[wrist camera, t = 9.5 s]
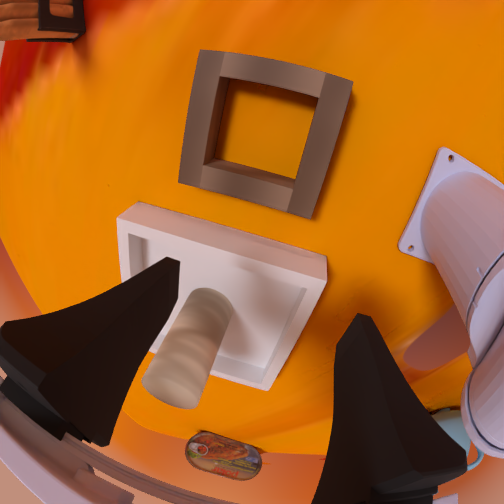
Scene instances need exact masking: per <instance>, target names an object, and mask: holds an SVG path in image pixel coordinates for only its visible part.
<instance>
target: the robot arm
mask: <svg viewBox="0 0 504 504" xmlns="http://www.w3.org/2000/svg"><path fill="white" fill-rule="evenodd" d="M449 155H452V159H451V161H449V160H448V157H449ZM411 245H413V246H412V248H411V249H408V247H409V246H411ZM398 248H399V250H400V251H401V252H403V253H406V254H409V255H412V256H414V257H417V258H420V259H422V260H425V261H428V262H430V263H433V264H435V266H436V268H437V269H438V271H439V273H440V275H441V277H442V279H443V281H444V283H445V285H446V287H447V289H448V291H449V293H450V295H451V297H452V299H453V301H454V303H455V305H456V307H457V309H458V312H459V314H460V316H461V318H462V321H463V323H464V325H465V327H466V330H467V332H468V334H469V337H470V347H469V349H468V351H467V353H468V356H469V359H470V362H471V365H472V368H473V370H472V372H471V373H470V374H469V376H468V377H467V380H466V382H465V384H464V387H463V390H462V395H461V416H462V421H463V424H464V428H465V430H466V432H467V434H468V436H469V438H470V439H471V441H472V442H473V443H474V444H475V446H476V447H477V448H478V449H480V450H481V451H482V452H484V453H486V454H488V455H490V456H493V457H498V458H504V185H503V184H502V183H501V182H499V181H498V180H496V179H495V178H494V177H492V176H491V175H489V174H488V173H486V172H485V171H483V170H482V169H480V168H479V167H477V166H476V165H474V164H473V163H471V162H470V161H468V160H466V159H465V158H463V157H462V156H460V155H458V154H457V153H455V152H453V151H451V150H450V149H448V148H446V147H441V148H439V150H438V152H437V154H436V157H435V160H434V163H433V165H432V168H431V170H430V173H429V175H428V178H427V180H426V183H425V185H424V188H423V190H422V193H421V195H420V197H419V199H418V202H417V204H416V206H415V209H414V211H413V213H412V215H411V217H410V219H409V221H408V224H407V226H406V228H405V230H404V232H403V234H402V236H401V238H400V240H399V242H398ZM179 275H180V261H179V260H176V259H173V258H170V257H165V258H163V259H161V260H160V261H158V262H156V263H155V264H153V265H151V266H150V267H148V268H146V269H145V270H143V271H141V272H140V273H138V274H136V275H135V276H133V277H131V278H130V279H128V280H126V281H124V282H123V283H121V284H119V285H117V286H115V287H113V288H112V289H110V290H108V291H106V292H104V293H102V294H100V295H98V296H95V297H93V298H91V299H89V300H86V301H84V302H81V303H79V304H76V305H73V306H70V307H67V308H64V309H62V310H59V311H55V312H52V313H48V314H44V315H40V316H36V317H31V318H26V319H20V320H13V321H7V322H5V323H4V324H3V325H2V326H1V328H0V367H1V368H2V369H3V371H4V372H5V373H6V374H7V377H6V378H5V380H4V379H3V378H2V377H1V376H0V459H1V460H2V461H3V463H4V464H5V465H6V466H7V467H8V468H9V469H10V470H11V471H12V473H13V474H14V475H15V476H16V477H17V478H18V479H19V480H20V481H21V482H22V483H23V484H24V485H25V486H26V487H27V488H28V489H29V490H30V491H31V492H32V493H34V494H35V495H36V496H37V497H38V498H39V499H40V500H41V501H42V502H43V503H45V504H132V501H133V499H134V494H132V493H130V492H128V491H126V490H124V489H121V488H120V487H118V486H116V485H114V484H112V483H110V482H108V481H106V480H104V479H102V478H100V477H98V476H96V475H95V473H94V470H93V468H92V467H94V468H96V469H98V470H100V471H101V472H103V473H105V474H107V475H109V476H111V477H112V478H114V479H116V480H118V481H121V482H123V483H125V484H127V485H129V486H131V487H133V488H136V489H138V490H140V491H142V492H145V493H147V494H150V495H152V496H155V497H157V498H160V499H163V500H165V501H168V502H171V503H174V504H237V503H233V502H228V501H224V500H220V499H216V498H212V497H208V496H204V495H201V494H198V493H194V492H191V491H188V490H185V489H182V488H179V487H176V486H173V485H170V484H168V483H165V482H162V481H160V480H157V479H154V478H152V477H149V476H147V475H145V474H143V473H140V472H138V471H136V470H134V469H131V468H129V467H127V466H125V465H123V464H121V463H119V462H117V461H115V460H113V459H111V458H109V457H107V456H105V455H104V454H102V453H100V452H98V451H96V450H95V449H93V448H91V447H89V446H88V445H86V444H84V443H83V442H82V440H85V441H87V442H88V443H91V442H93V443H95V444H96V445H98V446H100V447H104V446H107V445H109V443H110V440H111V436H112V433H113V430H114V427H115V424H116V421H117V418H118V415H119V413H120V410H121V408H122V405H123V402H124V400H125V397H126V395H127V393H128V390H129V388H130V386H131V383H132V381H133V379H134V377H135V375H136V372H137V370H138V368H139V366H140V364H141V362H142V361H143V359H144V357H145V356H146V354H147V352H148V351H149V349H150V348H151V346H152V344H153V343H154V341H155V340H156V338H157V337H158V335H159V333H160V332H161V330H162V329H163V327H164V325H165V324H166V322H167V321H168V319H169V317H170V315H171V313H172V311H173V309H174V307H175V304H176V302H177V300H178V293H179ZM90 465H91V466H90ZM467 470H468V468H467V456H466V450H465V449H464V448H462V447H461V446H460V445H459V444H458V443H457V442H456V441H455V440H453V439H452V438H451V437H450V436H449V435H448V434H447V433H446V432H445V431H444V430H443V429H442V427H441V426H440V425H439V424H438V423H437V422H436V421H435V420H434V418H433V417H432V416H431V415H430V414H429V412H428V411H427V410H426V409H425V407H424V406H423V405H422V403H421V402H420V401H419V399H418V398H417V396H416V395H415V393H414V392H413V390H412V389H411V387H410V386H409V384H408V383H407V381H406V379H405V378H404V376H403V374H402V373H401V371H400V369H399V367H398V366H397V364H396V362H395V360H394V359H393V357H392V355H391V353H390V351H389V349H388V347H387V345H386V344H385V342H384V340H383V338H382V336H381V334H380V332H379V330H378V328H377V327H376V325H375V323H374V321H373V320H372V318H371V316H367V315H363V314H359V313H357V315H356V316H355V318H354V319H353V321H352V323H351V324H350V326H349V327H348V329H347V330H346V332H345V333H344V335H343V336H342V338H341V339H340V341H339V342H338V344H337V346H336V354H335V362H334V409H333V423H332V430H331V436H330V441H329V446H328V451H327V455H326V460H325V464H324V467H323V471H322V474H321V478H320V481H319V484H318V487H317V490H316V493H315V495H314V498H313V500H312V503H311V504H458V494H457V493H455V494H452V495H449V496H445V497H441V498H438V499H434V500H433V494H436V493H437V492H438V485H441V484H443V483H445V482H448V481H450V480H453V479H455V478H457V477H459V476H461V475H463V474H464V473H465V472H466V471H467Z"/></svg>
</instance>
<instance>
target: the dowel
mask: <svg viewBox="0 0 504 504" xmlns="http://www.w3.org/2000/svg"><path fill="white" fill-rule="evenodd" d="M232 313H233V308H232V305H231V303H230V301H229V300H228V298H227V297H226V296H224V295H223V294H222V293H220V292H218V291H216V290H214V289H211V288H197V289H195V290H193V291H192V292H191V293H190V295H189V296H188V298H187V300H186V302H185V303H184V305H183V307H182V308H181V310H180V312H179V314H178V315H177V317H176V319H175V321H174V322H173V324H172V326H171V328H170V329H169V331H168V333H167V335H166V336H165V338H164V340H163V342H162V344H161V345H160V347H159V349H158V351H157V352H156V354H155V356H154V358H153V360H152V361H151V363H150V365H149V367H148V369H147V371H146V372H145V374H144V376H143V378H142V384H143V386H144V388H145V389H146V390H147V391H148V392H149V393H150V394H152V395H153V396H154V397H156V398H157V399H159V400H161V401H163V402H164V403H167V404H169V405H172V406H174V407H178V408H183V409H193V408H196V407H197V405H198V403H199V400H200V397H201V395H202V392H203V389H204V387H205V384H206V382H207V379H208V376H209V374H210V371H211V369H212V366H213V363H214V361H215V358H216V356H217V353H218V350H219V348H220V345H221V342H222V340H223V337H224V335H225V332H226V329H227V327H228V324H229V321H230V319H231V316H232Z"/></svg>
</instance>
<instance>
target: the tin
mask: <svg viewBox="0 0 504 504" xmlns="http://www.w3.org/2000/svg"><path fill="white" fill-rule="evenodd" d="M185 455H186V458H187V460H188V461H189V463H190V464H191V465H192V466H193V467H195V468H197V469H199V470H202V471H205V472H209V473H212V474H215V475H219V476H222V477H226V478H230V479H233V480H239V481H245V480H249V479H252V478H253V477H255V476H256V475H257V474H258V472H259V471H260V470H261V466H262V459H261V456H260V454H259V452H258V451H257V450H256V449H255V448H254V447H253V446H251V445H249V444H246V443H242V442H239V441H235V440H232V439H229V438H226V437H223V436H220V435H217V434H214V433H211V432H202V433H198V434H196V435H194V436H193V437H191V438H190V440H189V441H188V442H187V444H186V447H185Z"/></svg>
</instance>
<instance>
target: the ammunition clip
mask: <svg viewBox="0 0 504 504" xmlns="http://www.w3.org/2000/svg"><path fill="white" fill-rule="evenodd" d="M85 31H86V27H85V19H84V9H83V0H0V41H6V40H17V39H26V40H27V42H68V43H72V42H73V41H74V40H76V39H77V38H78V37H80V36H81V35H82V34H84V33H85Z"/></svg>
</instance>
